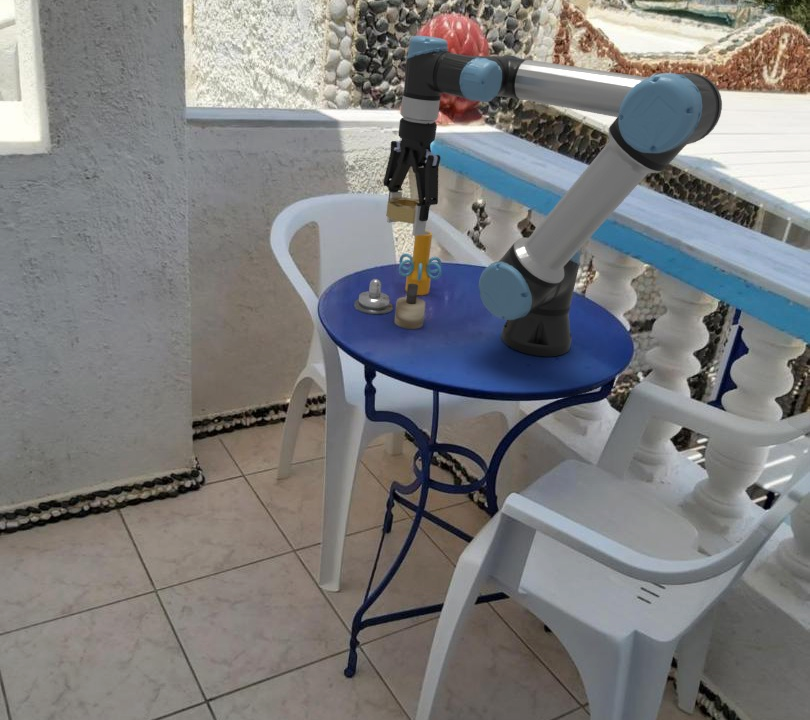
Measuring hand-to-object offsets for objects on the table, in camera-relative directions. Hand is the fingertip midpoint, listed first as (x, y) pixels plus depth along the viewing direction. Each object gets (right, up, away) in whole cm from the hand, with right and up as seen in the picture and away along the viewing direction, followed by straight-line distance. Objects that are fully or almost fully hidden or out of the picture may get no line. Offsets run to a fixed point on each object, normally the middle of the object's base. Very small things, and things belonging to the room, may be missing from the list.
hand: (405, 227), depth 165 cm
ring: (0, +2, -1) cm, 2 cm away
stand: (+1, -20, +7) cm, 21 cm away
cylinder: (+3, -12, +26) cm, 28 cm away
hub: (-7, -16, +13) cm, 22 cm away
